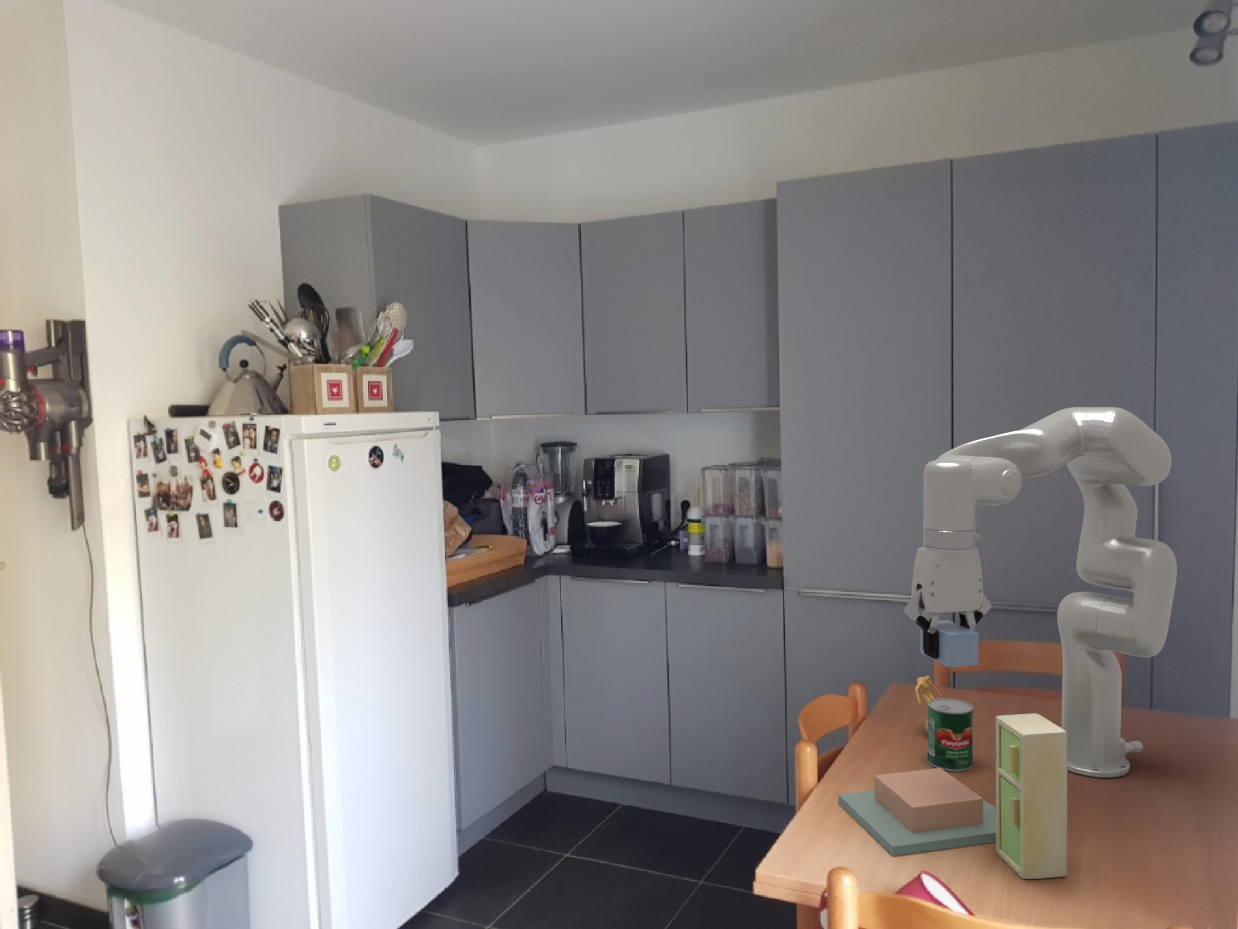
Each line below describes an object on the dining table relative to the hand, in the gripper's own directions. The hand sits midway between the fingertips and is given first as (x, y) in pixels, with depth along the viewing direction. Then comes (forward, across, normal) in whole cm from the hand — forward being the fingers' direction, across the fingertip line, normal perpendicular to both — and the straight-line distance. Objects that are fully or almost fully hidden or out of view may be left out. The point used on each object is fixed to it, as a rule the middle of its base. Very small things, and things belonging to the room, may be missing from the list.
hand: (947, 653), depth 141 cm
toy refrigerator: (+28, -4, +14) cm, 31 cm away
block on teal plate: (+28, +2, -2) cm, 28 cm away
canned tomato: (+28, -14, -21) cm, 38 cm away
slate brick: (+1, 0, 0) cm, 1 cm away
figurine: (+28, -19, -34) cm, 48 cm away
